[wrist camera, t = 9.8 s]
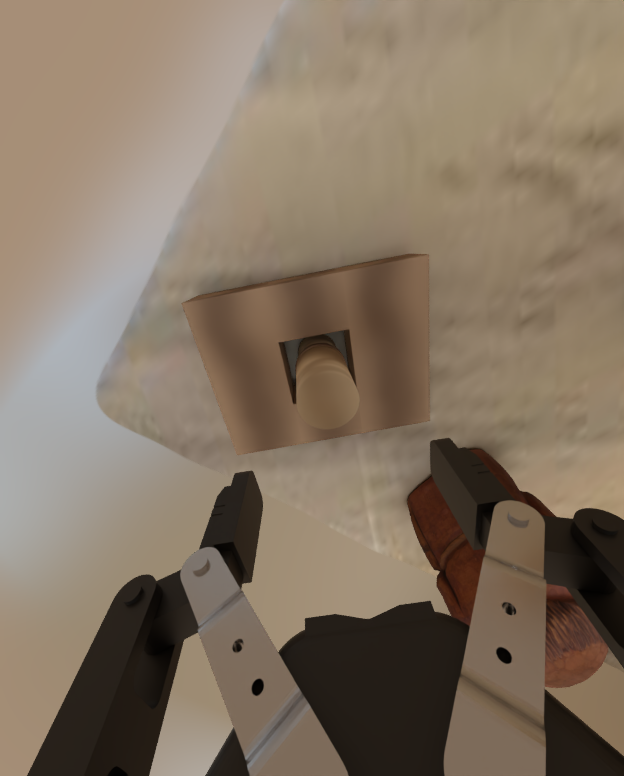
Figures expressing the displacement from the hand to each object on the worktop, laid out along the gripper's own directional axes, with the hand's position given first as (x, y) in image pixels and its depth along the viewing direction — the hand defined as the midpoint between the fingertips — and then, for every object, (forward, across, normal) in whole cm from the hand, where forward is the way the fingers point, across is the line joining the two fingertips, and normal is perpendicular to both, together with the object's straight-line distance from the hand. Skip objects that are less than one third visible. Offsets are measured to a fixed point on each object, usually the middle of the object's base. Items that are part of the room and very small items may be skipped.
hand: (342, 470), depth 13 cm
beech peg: (+16, 0, 0) cm, 16 cm away
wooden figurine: (+16, -12, +19) cm, 28 cm away
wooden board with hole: (+16, 0, 0) cm, 16 cm away
